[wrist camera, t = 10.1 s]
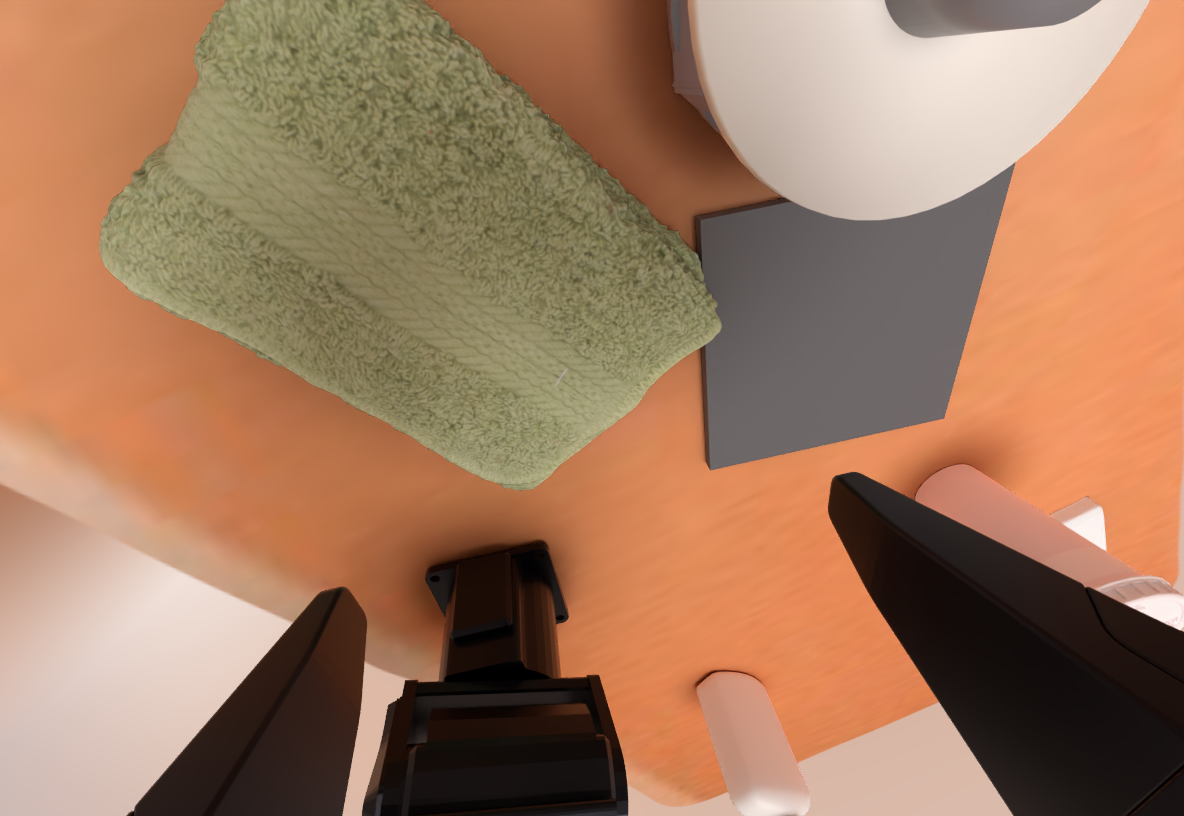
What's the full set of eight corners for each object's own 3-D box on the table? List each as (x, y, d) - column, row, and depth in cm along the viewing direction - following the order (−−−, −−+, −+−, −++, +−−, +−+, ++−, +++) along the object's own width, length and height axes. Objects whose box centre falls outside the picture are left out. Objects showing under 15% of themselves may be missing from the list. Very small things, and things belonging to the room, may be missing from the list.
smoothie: (924, 543, 32) (1168, 812, 20) (871, 502, 29) (1118, 787, 17) (1018, 476, 30) (1353, 734, 18) (971, 425, 27) (1332, 691, 15)
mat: (935, 411, 26) (943, 418, 25) (706, 462, 25) (710, 470, 25) (1004, 153, 19) (1017, 154, 19) (695, 216, 19) (700, 220, 18)
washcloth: (528, 483, 25) (532, 531, 22) (116, 248, 17) (44, 279, 14) (729, 284, 21) (762, 314, 18) (309, -148, 13) (260, -208, 10)
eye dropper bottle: (714, 710, 39) (786, 923, 30) (689, 679, 36) (758, 905, 26) (767, 689, 39) (858, 899, 29) (745, 656, 36) (838, 878, 26)
